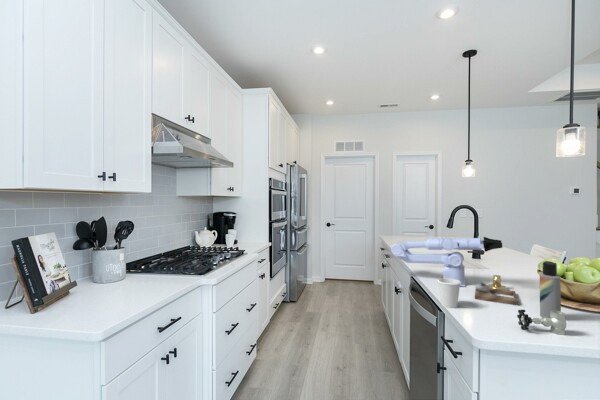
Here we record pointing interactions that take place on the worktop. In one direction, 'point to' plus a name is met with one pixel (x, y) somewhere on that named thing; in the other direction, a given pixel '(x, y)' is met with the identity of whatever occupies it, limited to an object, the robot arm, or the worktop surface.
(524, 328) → the valve
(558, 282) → the lotion bottle
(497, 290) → the carrier
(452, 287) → the dixie cup
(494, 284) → the brass flanged knob
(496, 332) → the worktop surface
